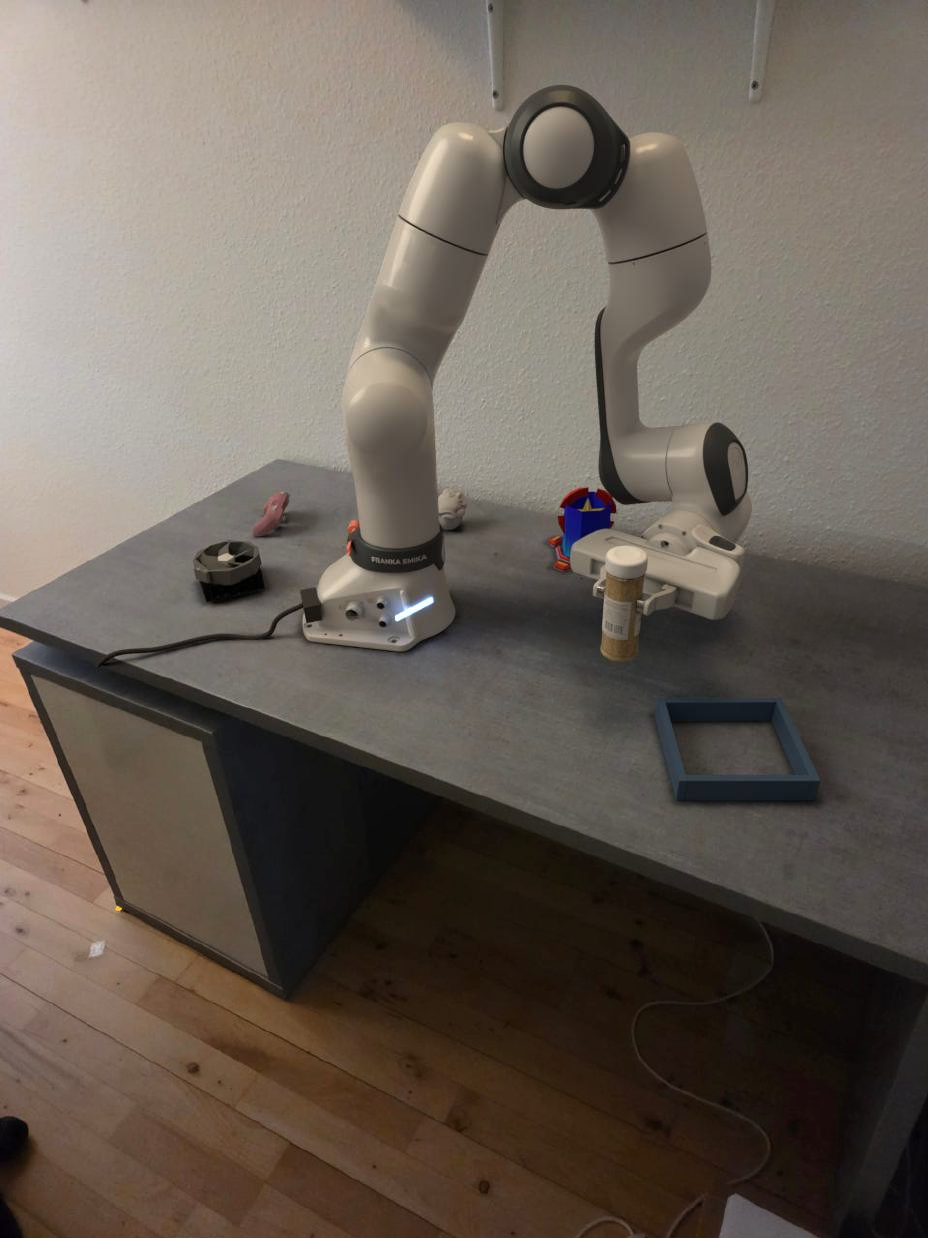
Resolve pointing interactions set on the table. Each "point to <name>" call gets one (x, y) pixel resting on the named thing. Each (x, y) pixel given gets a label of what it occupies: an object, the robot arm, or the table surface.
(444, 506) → the frog figurine
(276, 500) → the pink lumpy piece
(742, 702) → the square frame
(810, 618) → the table surface
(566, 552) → the fantasy tower
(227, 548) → the cpu cooler
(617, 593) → the sprinkles bottle
